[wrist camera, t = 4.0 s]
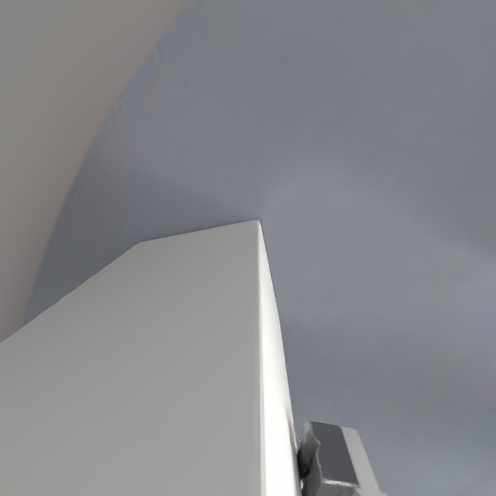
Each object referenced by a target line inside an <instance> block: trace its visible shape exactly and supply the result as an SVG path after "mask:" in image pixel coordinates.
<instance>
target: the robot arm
mask: <svg viewBox="0 0 496 496" xmlns="http://www.w3.org/2000/svg"><path fill="white" fill-rule="evenodd" d="M303 433H304V437H302V438H301V439H299V443H298V446H297V461H298V469H299V475H300V480H301V482H302V483H303V488H302V491H301V492H302V496H388V494H387V493H386V492H382V491H380V489H379V486H378V484H377V481H376V478H375V476H374V473H373V471H372V468H371V465H370V463H369V460H368V457H367V455H366V452H365V450H364V447H363V444H362V442H361V439H360V437H359V434H358V432H357V430H356V429H355V428H349V427H343V426H337V425H332V424H325V423H318V422H311V421H307V422H306V423H305V424H304V427H303Z"/></svg>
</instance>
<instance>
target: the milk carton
mask: <svg viewBox="0 0 496 496" xmlns="http://www.w3.org/2000/svg"><path fill="white" fill-rule="evenodd" d="M301 491H302V482H301V480H300V475H299V469H298V461H297V446H296V438H295V431H294V424H293V416H292V409H291V401H290V394H289V387H288V379H287V372H286V365H285V357H284V350H283V343H282V335H281V328H280V321H279V315H278V310H277V305H276V300H275V295H274V290H273V285H272V280H271V275H270V270H269V265H268V260H267V254H266V249H265V244H264V239H263V234H262V229H261V225H260V222H259V220H252V221H247V222H242V223H236V224H231V225H226V226H221V227H216V228H211V229H206V230H201V231H196V232H190V233H185V234H180V235H175V236H170V237H165V238H160V239H155V240H150V241H144V242H140V243H138V244H136V245H135V246H133V247H132V248H131V249H129V250H128V251H127V252H125V253H124V254H122V255H121V256H120V257H118V258H117V259H116V260H114V261H113V262H111V263H110V264H109V265H107V266H106V267H105V268H103V269H102V270H100V271H99V272H98V273H96V274H95V275H94V276H92V277H91V278H89V279H88V280H87V281H85V282H84V283H83V284H81V285H80V286H78V287H77V288H76V289H74V290H73V291H72V292H70V293H69V294H67V295H66V296H65V297H63V298H62V299H61V300H59V301H58V302H56V303H55V304H54V305H52V306H51V307H50V308H48V309H47V310H45V311H44V312H43V313H41V314H40V315H39V316H37V317H36V318H34V319H33V320H32V321H30V322H29V323H28V324H26V325H25V326H23V327H22V328H21V329H19V330H18V331H17V332H15V333H14V334H13V335H11V336H10V337H8V338H7V339H6V340H4V341H3V342H2V343H0V496H302V492H301Z"/></svg>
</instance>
